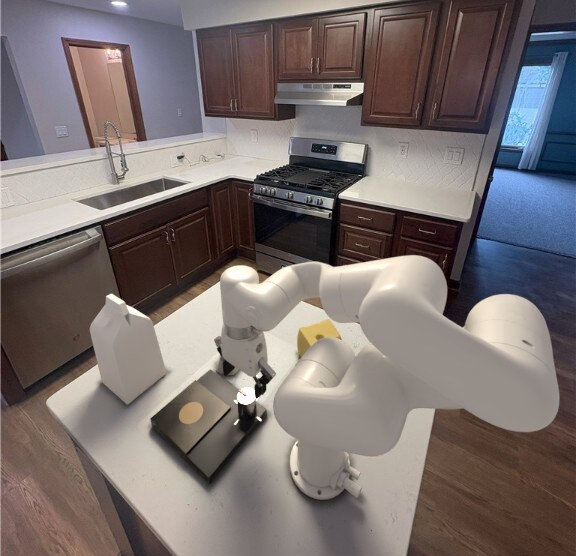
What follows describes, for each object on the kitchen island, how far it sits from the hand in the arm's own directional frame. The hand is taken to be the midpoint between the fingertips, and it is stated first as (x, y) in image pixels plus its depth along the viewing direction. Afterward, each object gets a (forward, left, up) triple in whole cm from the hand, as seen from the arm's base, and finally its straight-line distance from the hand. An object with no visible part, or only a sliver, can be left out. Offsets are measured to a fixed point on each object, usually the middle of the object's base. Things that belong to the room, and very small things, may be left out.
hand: (244, 382), depth 71 cm
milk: (+32, +10, -11) cm, 35 cm away
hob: (+6, +6, -11) cm, 14 cm away
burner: (+10, +8, -9) cm, 16 cm away
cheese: (-6, -25, -11) cm, 28 cm away
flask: (+14, -8, -11) cm, 20 cm away
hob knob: (0, 0, -9) cm, 9 cm away
